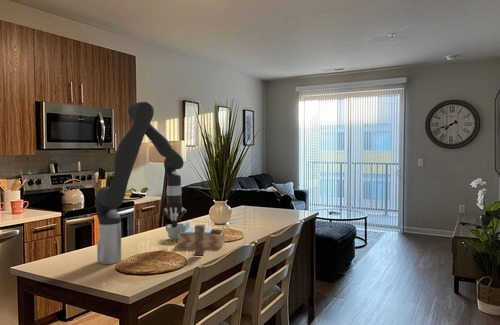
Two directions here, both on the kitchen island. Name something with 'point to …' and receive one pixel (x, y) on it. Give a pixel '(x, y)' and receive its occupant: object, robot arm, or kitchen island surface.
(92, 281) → the kitchen island surface
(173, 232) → the teacup
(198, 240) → the brown rectangular block
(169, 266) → the kitchen island surface
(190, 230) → the lid
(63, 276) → the kitchen island surface
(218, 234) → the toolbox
